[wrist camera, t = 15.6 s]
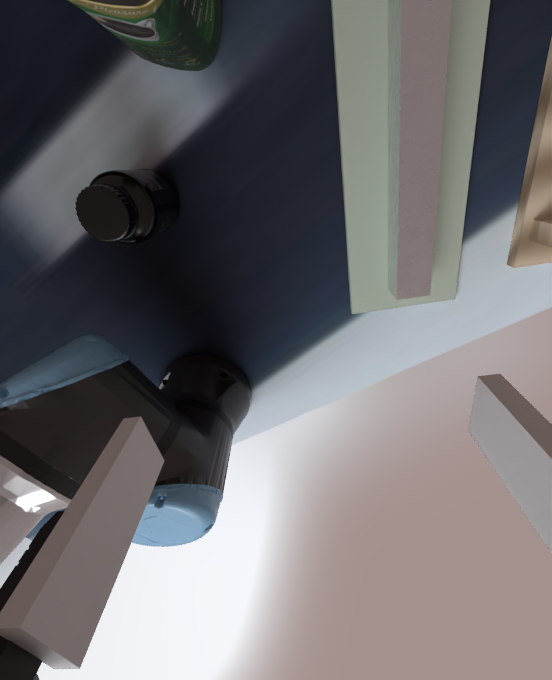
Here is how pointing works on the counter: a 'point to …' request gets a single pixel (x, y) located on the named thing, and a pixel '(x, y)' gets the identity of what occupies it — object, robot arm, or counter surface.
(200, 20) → the coffee jar
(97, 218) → the supplement bottle
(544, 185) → the rail rack
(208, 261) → the counter surface
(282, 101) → the counter surface
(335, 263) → the counter surface
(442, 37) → the steel rail
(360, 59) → the sage mat
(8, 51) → the counter surface
